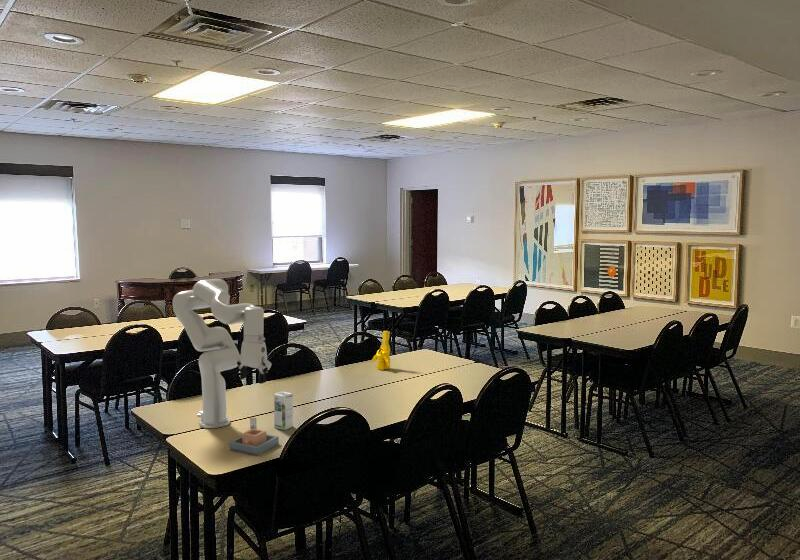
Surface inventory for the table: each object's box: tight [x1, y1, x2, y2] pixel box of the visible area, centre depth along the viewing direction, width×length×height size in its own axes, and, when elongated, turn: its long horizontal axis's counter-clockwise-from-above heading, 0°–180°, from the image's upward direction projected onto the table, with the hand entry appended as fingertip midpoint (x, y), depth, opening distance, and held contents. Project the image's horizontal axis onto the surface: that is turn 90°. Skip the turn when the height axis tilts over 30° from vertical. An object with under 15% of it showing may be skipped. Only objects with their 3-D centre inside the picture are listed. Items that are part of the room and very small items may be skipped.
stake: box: [249, 417, 258, 430], centre depth 247 cm, size 2×2×6 cm
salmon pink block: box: [241, 428, 267, 447], centre depth 231 cm, size 8×6×5 cm
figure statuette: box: [370, 330, 391, 371], centre depth 352 cm, size 18×8×22 cm, turn 39°
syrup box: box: [273, 391, 294, 431], centre depth 253 cm, size 6×6×14 cm
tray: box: [228, 433, 280, 457], centre depth 232 cm, size 13×13×3 cm
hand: (252, 380), depth 240 cm, fingers open, 9 cm apart
